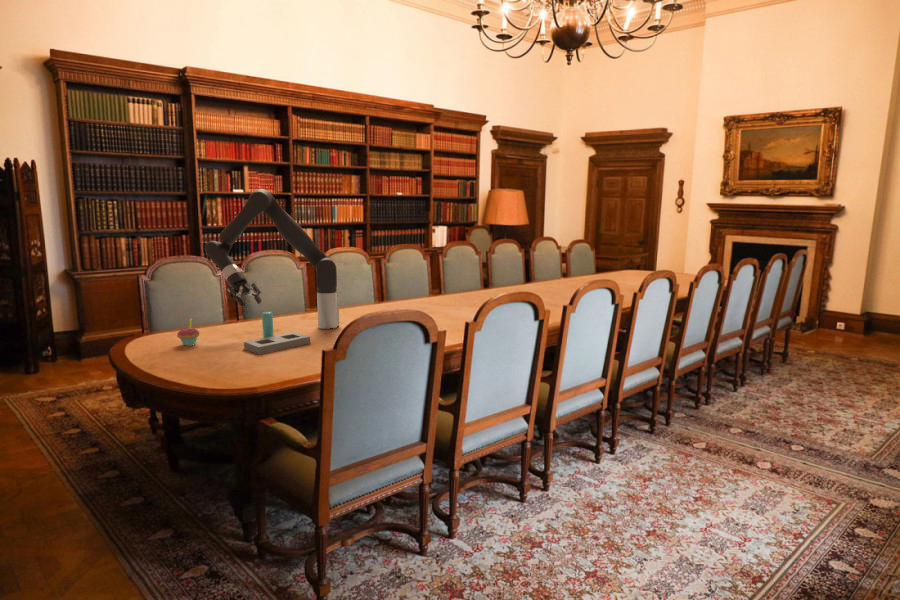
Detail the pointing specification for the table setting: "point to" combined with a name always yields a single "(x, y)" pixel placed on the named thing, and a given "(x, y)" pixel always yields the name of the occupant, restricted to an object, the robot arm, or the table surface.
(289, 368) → the table surface
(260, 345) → the rack
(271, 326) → the teal round-top peg
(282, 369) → the table surface
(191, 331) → the cupcake
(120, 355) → the table surface
